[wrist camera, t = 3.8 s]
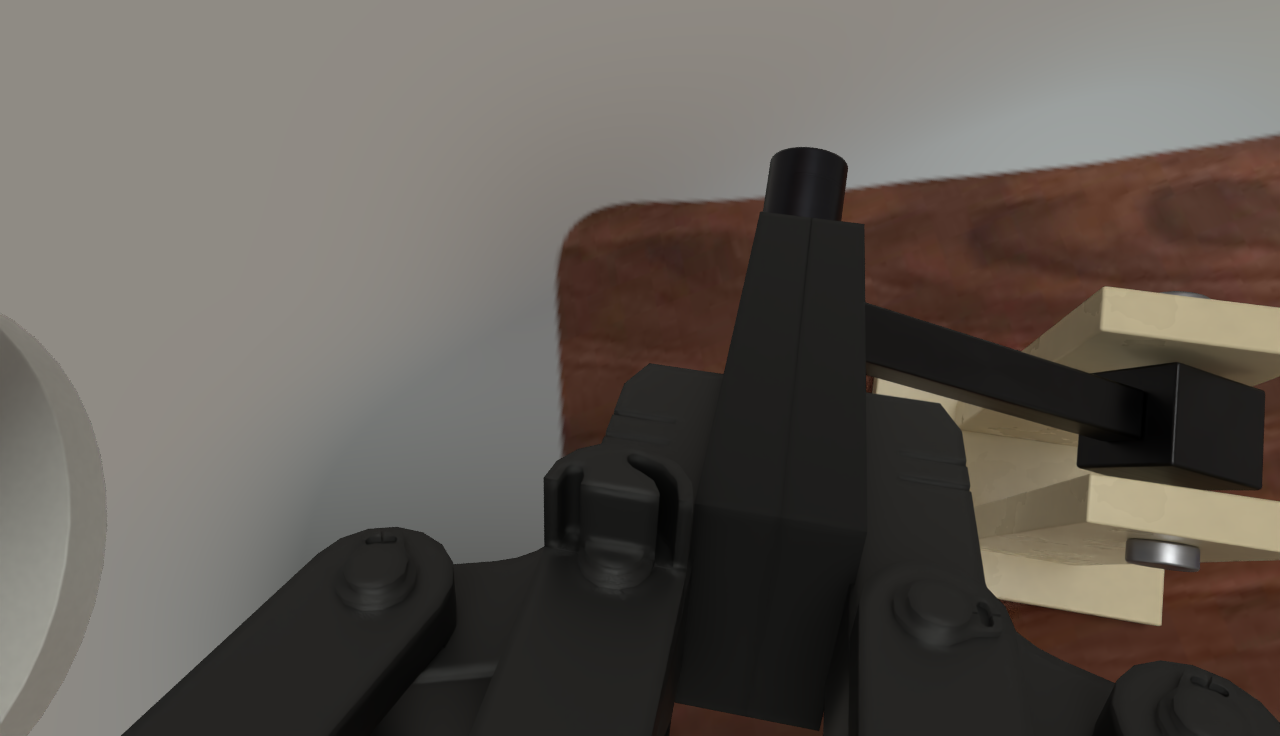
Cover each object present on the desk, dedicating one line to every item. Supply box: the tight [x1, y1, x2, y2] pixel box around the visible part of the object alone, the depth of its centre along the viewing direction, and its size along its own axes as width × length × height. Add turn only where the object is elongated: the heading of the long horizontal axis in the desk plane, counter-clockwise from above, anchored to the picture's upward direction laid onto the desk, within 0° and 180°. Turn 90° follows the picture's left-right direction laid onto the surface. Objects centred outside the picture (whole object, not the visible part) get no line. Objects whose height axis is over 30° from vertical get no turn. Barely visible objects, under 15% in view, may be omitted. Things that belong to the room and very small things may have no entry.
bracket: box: [872, 286, 1280, 626], centre depth 26 cm, size 10×8×15 cm
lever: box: [763, 147, 1265, 490], centre depth 19 cm, size 12×6×2 cm, turn 80°
